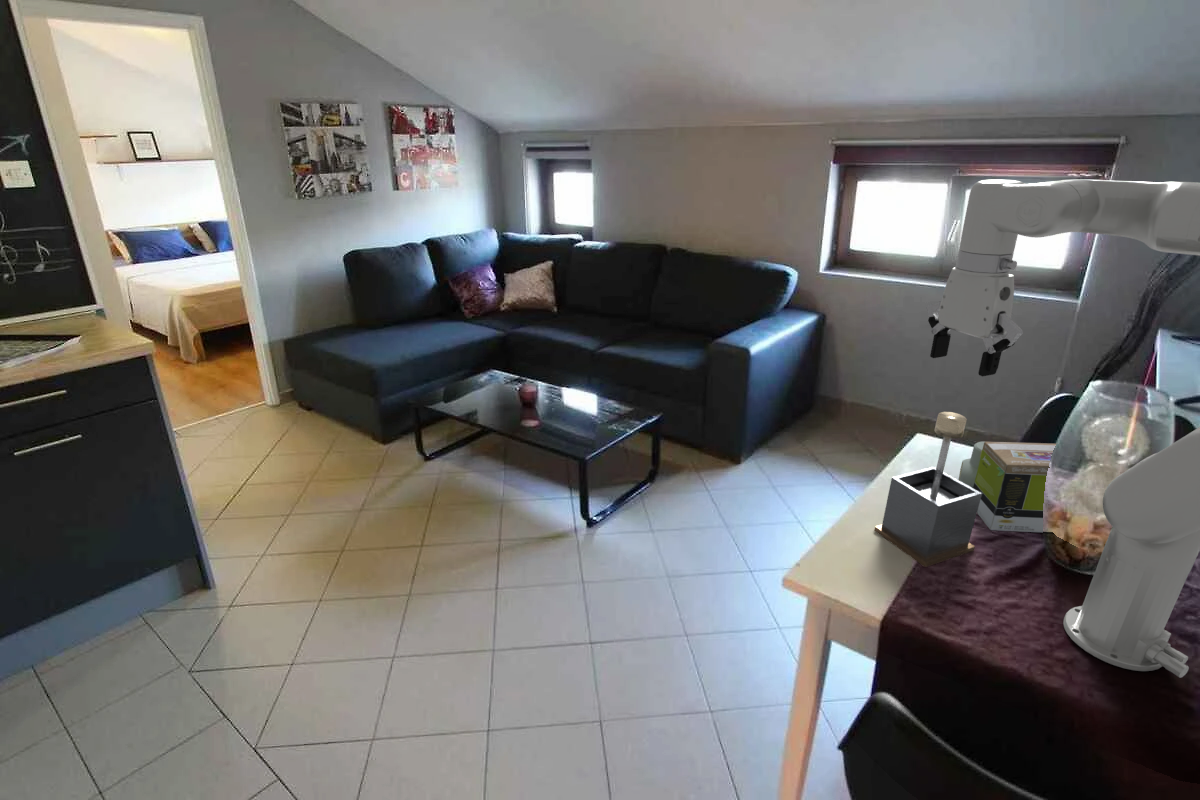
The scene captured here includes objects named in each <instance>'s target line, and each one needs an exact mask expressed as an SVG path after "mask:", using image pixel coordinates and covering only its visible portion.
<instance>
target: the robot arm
mask: <svg viewBox="0 0 1200 800" xmlns="http://www.w3.org/2000/svg"><path fill="white" fill-rule="evenodd" d="M963 220H964V222H963V226H962V230H961V231H962V232H961V237H960V242H959V247H958V252H957V257H956V262H955V267H953V268H952V269H951V271H950V273H949V275H948V277H947V278H948V279H947V281H946V284H945V287H944V290H943V294H942V297H941V300H940V301H937V302H933V303H930V304H927V305H926V312H927V316H928V321H927V322H928V324H929V326H930V328H931V330H930V332H931V334H932V336H933V340H932V345H931V350H930V355H929V357H930V358H932V359H936V358H938V359H939V358H942V357H946V356H948V351H949V348H950V343H951V342H950V341H951V333H950V331H951V330H953V331H956V332H958V333H962V334H965V335H969V336H972V337H974V338H979V339H982V341H983V344H984V346H985V349H986V350H987V351H983V353H982V355H981V361H980V364H979V368H978V375H979V376H980V377H986V376H993V375H996V373H997V371H998V369H999V364H1000V360H1001V356H1002V353H1003V352H1006V351H1007V350H1008V349H1010V348H1011V347H1013V346H1014V345H1015V344H1016V342H1017V341H1018V340H1019V339H1020V337H1021V336H1022V335H1023V334H1024V330H1023V329H1022V328H1021V327H1020V326H1019V325H1018V324H1017V323H1016V322H1015V321H1014V320H1013V319H1012V314H1013V313H1012V312H1013V305H1014V297H1015V277H1014V274H1011V273H1010V271H1013V270H1015V269H1016V268H1017V267H1018V266H1017V265H1018V261H1017V260H1013V258H1014V254H1015V253H1014V252H1015V249H1016V245H1017V241H1018V236H1019V235H1020V236H1024V237H1026V238H1027V237H1028V238H1044V237H1045V238H1047V237H1051V236H1057V235H1061V234H1065V233H1066V234H1067V233H1081V234H1082V233H1084V234H1097V235H1105V236H1116V237H1123V238H1129V239H1133V240H1137V241H1139V242H1142V243H1143V244H1145V245H1146V246H1147V247H1149V249H1151V250H1154V251H1156V252H1157V251H1158V252H1161V253H1169V254H1170V253H1171V254H1180V255H1189V256H1190V255H1191V256H1192V255H1193V256H1200V182H1197V181H1195V182H1193V181H1164V182H1161V181H1160V182H1155V181H1154V182H1153V181H1134V180H1133V181H1132V180H1110V179H1109V180H1107V179H1106V180H1105V179H1085V178H1084V179H1080V178H1079V179H1076V178H1075V179H1062V180H1061V179H1060V180H1052V181H1045V182H1044V181H1043V182H1037V183H1036V182H1035V183H1024V182H1023V181H1020V180H1015V179H982V180H979V181H977V182H975V183H974V184H973V185H972V186H971V188H970V192H969V196H968V201H967V206H966V210H965V217H964V219H963ZM1003 336H1004V338H1003ZM1102 509H1103V510H1102V511H1103V513H1104V517H1105V518H1106V520H1107V522H1108V523H1109V524H1110V526H1111V529H1110V532H1109V535H1108V537H1107V539H1106V542H1105V545H1104V546H1103V549H1102V552H1101V555H1100V557H1099V559H1098V563H1097V566H1096V568H1095V570H1094V574H1093V577H1092V579H1091V581H1090V584H1089V587H1088V590H1087V592H1086V596H1085V598H1084V600H1083V603H1082V605H1079V606H1074V607H1072V608H1070V609H1069V610H1068V611H1067V612H1066V613H1065V615H1064V617H1063V628H1064V630H1065V632H1066V634H1067V635H1068V637H1070V639H1071V640H1072V641H1073V642H1074V643H1075V644H1076V645H1077V646H1078V647H1080V648H1081V649H1083V650H1084V651H1085V652H1086V653H1088V654H1090V655H1091V656H1093V657H1095V658H1097V659H1099V660H1101V661H1103V662H1104V663H1108V664H1110V665H1113V666H1115V667H1119V668H1121V669H1126V670H1131V671H1136V672H1137V671H1138V672H1149V671H1155V670H1159V669H1160V668H1162V667H1163V668H1165V670H1167V671H1169V672H1170V673H1171V674H1174V675H1175V676H1176V677H1178V678H1183V677H1184V676H1186V674H1187V673H1188V672H1189V669H1190V667H1189V666H1188V664H1186V663H1187V661H1188V660H1189V656H1188V655H1186V654H1184V653H1183V652H1181V651H1179V650H1177V649H1175V648H1174V647H1171V643H1169V639H1170V637H1172V633H1171V632H1169V631H1168V630H1165V627H1166V625H1167V623H1168V621H1169V618H1170V617H1171V614H1172V611H1173V609H1174V608H1175V605H1176V603H1177V601H1178V598H1179V596H1180V594H1181V592H1182V590H1183V587H1184V585H1185V583H1186V581H1187V579H1188V576H1189V575H1190V572H1191V571H1192V569H1193V566H1194V564H1195V562H1196V561H1197V560H1196V559H1197V557H1198V556H1199V553H1200V426H1199V427H1198V428H1195V429H1194V430H1193V431H1191V432H1189V433H1188V434H1186V435H1185V436H1183V437H1181V438H1179V439H1178V440H1176V441H1174V442H1173V443H1171V444H1170V445H1168V446H1166V447H1165V448H1163V449H1161V450H1160V451H1159V452H1158V451H1157V452H1156V453H1153V454H1151V455H1149V456H1147V457H1145V458H1144V459H1142V460H1140V461H1138V462H1137V463H1136V464H1134V465H1132V466H1131V467H1130V468H1128V469H1127V470H1126V471H1124V472H1122V473H1121V474H1119V475H1118V476H1116V477H1115V478H1114V479H1113V480H1112V481H1110V483H1109V484H1108V485H1107V487H1106V488H1105V490H1104V493H1103V496H1102Z"/></svg>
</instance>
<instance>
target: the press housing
mask: <svg viewBox="0 0 1200 800" xmlns="http://www.w3.org/2000/svg"><path fill="white" fill-rule="evenodd" d="M936 467H937V466H930V467H927V468H922V469H918V470H914V471H911V472H907V473H903V474H900V475H896V476H892V477H891V479H890V484H889V490H888V494H887V500H886V503H885V510H884V514H883V518H882V523H881V524H879V525H875V526H874V530H873V531H874V532H875V533H876V534H879V536H881V537H883V538H884V539H885V540H886V541H888V542H890V544H892V545H893V546H895V547H896V548H898V549H899V550H900V551H902V553H905V554H906V555H907V556H908V557H910V558H911V559H913V560H914V561H916V563H919V564H920V565H921V566H923V567H925V568H927V567H930V566H933V565H936V564H939V563H942V562H945V561H947V560H948V561H949V560H951V559H954V558H956V557H959V556H960V557H961V556H963V555H966V554H969V553H972V552H974V551H975V547H976V546H975V545H974V544H973V543H970V539H971V536H972V532H973V528H974V526H975V521H976V517H977V515H978V514H977V511H978V507H979V503H980V500H981V496H982V493H981V492H979V491H977V490H975V489H974V488H972V487H970V486H968V485H966V484H964V483H963V482H961V481H959V479H957V478H956V477H954V476H952V475H950V474H948V473H946V472H944V471H943V475H942V479H941V483H940V488H941V489H943V490H945V491H947V492H948V493H950V494H952V495H954V496H955V497H957V498H954V499H951V500H947V501H944V502H940V503H937V502H936V501H934V500H933V499H931V498H929V497H928V496H926V495H924V494H923V493H921V492H919V491H918V490H916V489H914V488H913V487H917V486H921V485H924V484H928V483H933V480H934V475H935V471H936Z"/></svg>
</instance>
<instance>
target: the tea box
mask: <svg viewBox="0 0 1200 800" xmlns="http://www.w3.org/2000/svg"><path fill="white" fill-rule="evenodd" d="M983 442H984V445H983V449H982V453H981V457H980V462H979V466H978V470H977V474H976V478H975V482H974V486H973V488H974V489H975V490H977V491H979V492H981V493H982V496H981V500H980V503H979V507H978V511H977V514H976V515H978V516H979V517H980V518H981V520H982V522H983V523H984V525H986V526H987V527H988V529H989V531H1004V532H1021V533H1022V532H1025V533H1028V532H1029V533H1030V532H1031V533H1043V503H1044V491H1045V482H1046V476H1047V471H1048V468H1050V467H1049V463H1050V460H1051V456H1052V453H1053V450H1054V448H1055V446H1056V444H1057V443H1049V442H1048V443H1046V442H1045V443H1043V442H1042V443H1041V442H1010V441H1007V442H1006V441H1005V442H1004V441H983Z"/></svg>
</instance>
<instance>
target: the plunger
mask: <svg viewBox="0 0 1200 800" xmlns="http://www.w3.org/2000/svg"><path fill="white" fill-rule="evenodd" d="M937 414H938V415H937V418H936V422H935V427H934V432H935V434H937V435H938V436H940V437H942V438H943V439H942V442H941V445H940V450H939V456H938V458H937V463H936V466H935V467H936V471H935V475H934V480H933V483H928V484H924V485H921V486H917V487H913V488H914V489H916V490H918V491H919V492H921V493H923V494H924V495H926V496H928V497H929V498H931V499H933V500H934V501H936V502H937V503H940V502H944V501H947V500H951V499H954V498H957V497H955V496H954V495H952V494H950V493H948V492H947V491H945V490H943V489H941V488H940V483H941V479H942V475H943V472H944V470H945V465H946V463H947V457H948V454H949V450H950V447H951V446H950V445H951V440H952V439H953V440H954V439H955V440H956V439H957V440H958V439H960V438H963V436H964V432H965V428H966V424H967V421H968V419H967V418H966V416H965V415H962V414H960V413H957V412H952V411H942V412H939V413H937Z"/></svg>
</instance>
